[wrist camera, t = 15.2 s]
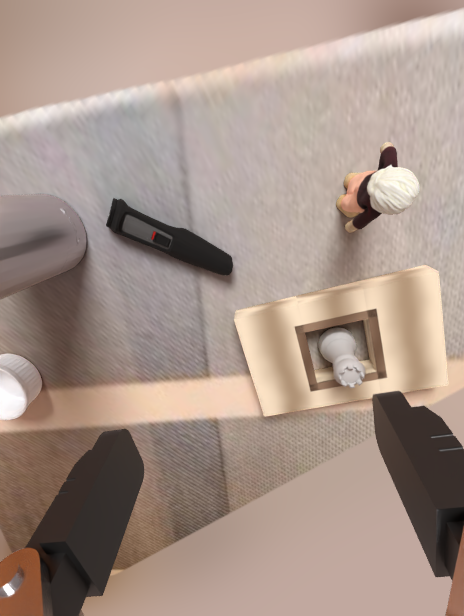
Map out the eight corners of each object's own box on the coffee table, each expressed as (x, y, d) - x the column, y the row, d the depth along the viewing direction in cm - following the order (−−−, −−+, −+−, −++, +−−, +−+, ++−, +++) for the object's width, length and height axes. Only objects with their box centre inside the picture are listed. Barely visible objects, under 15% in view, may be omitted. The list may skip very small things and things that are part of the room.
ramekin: (10, 406, 50) (-12, 426, 46) (-24, 358, 47) (-51, 374, 43) (58, 393, 48) (39, 412, 44) (25, 342, 45) (2, 357, 41)
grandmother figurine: (364, 228, 35) (413, 251, 24) (329, 224, 36) (360, 244, 24) (383, 150, 33) (450, 132, 21) (345, 146, 33) (389, 125, 21)
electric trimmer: (226, 279, 39) (224, 287, 36) (107, 225, 38) (94, 229, 35) (239, 251, 38) (237, 257, 35) (116, 194, 37) (103, 195, 34)
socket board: (264, 402, 45) (264, 416, 42) (236, 310, 40) (233, 319, 37) (435, 371, 40) (448, 385, 38) (425, 264, 36) (438, 271, 33)
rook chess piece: (356, 326, 39) (377, 359, 32) (351, 358, 41) (371, 397, 34) (319, 325, 40) (331, 357, 32) (315, 357, 41) (327, 395, 34)
